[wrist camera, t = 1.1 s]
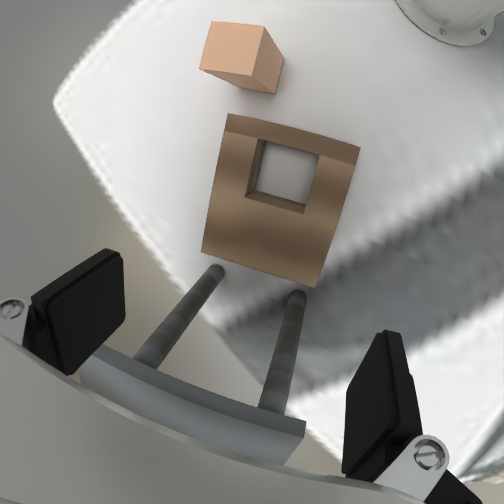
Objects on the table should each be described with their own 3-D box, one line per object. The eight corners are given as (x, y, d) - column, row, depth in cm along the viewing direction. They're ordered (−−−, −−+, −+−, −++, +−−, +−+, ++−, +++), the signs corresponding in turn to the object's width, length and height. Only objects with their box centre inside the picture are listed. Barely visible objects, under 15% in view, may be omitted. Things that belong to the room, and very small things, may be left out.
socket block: (240, 115, 29) (67, 96, 8) (356, 146, 28) (434, 175, 7) (206, 280, 37) (93, 423, 16) (302, 311, 36) (260, 493, 15)
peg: (245, 52, 26) (211, 21, 17) (284, 58, 26) (264, 26, 17) (237, 86, 28) (198, 68, 19) (275, 94, 28) (251, 75, 19)
